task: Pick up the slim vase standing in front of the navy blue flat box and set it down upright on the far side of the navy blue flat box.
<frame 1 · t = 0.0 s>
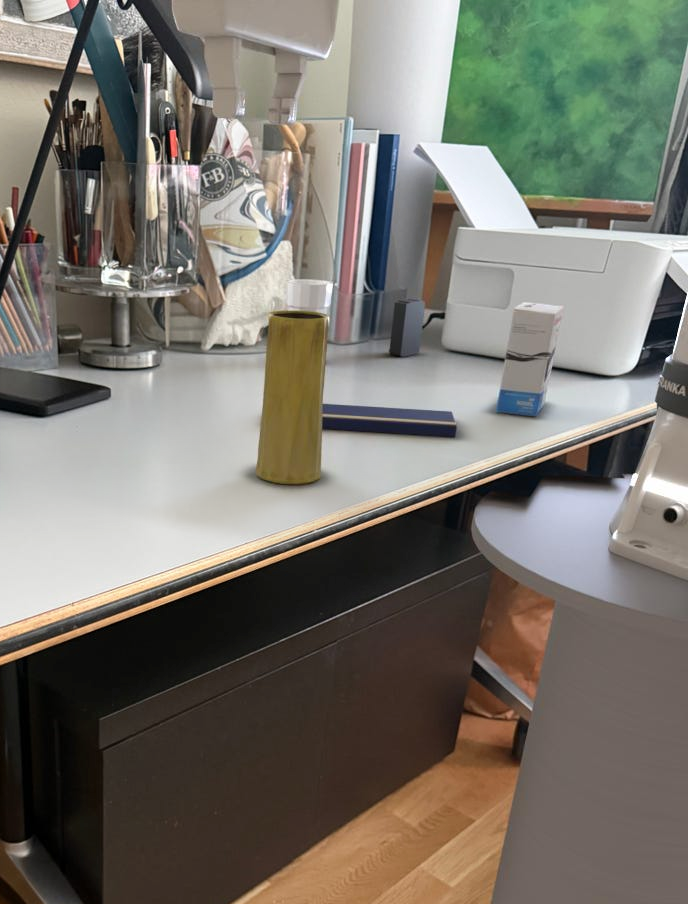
hand: (256, 121, 69), 28 cm above the table, tool pointing down, fingers open, 8 cm apart
vase: (287, 477, 87), on the table
navy blue flat box: (362, 423, 105), on the table
ink box: (520, 409, 114), on the table
ink cartridge: (403, 355, 145), on the table
cup: (303, 362, 138), on the table
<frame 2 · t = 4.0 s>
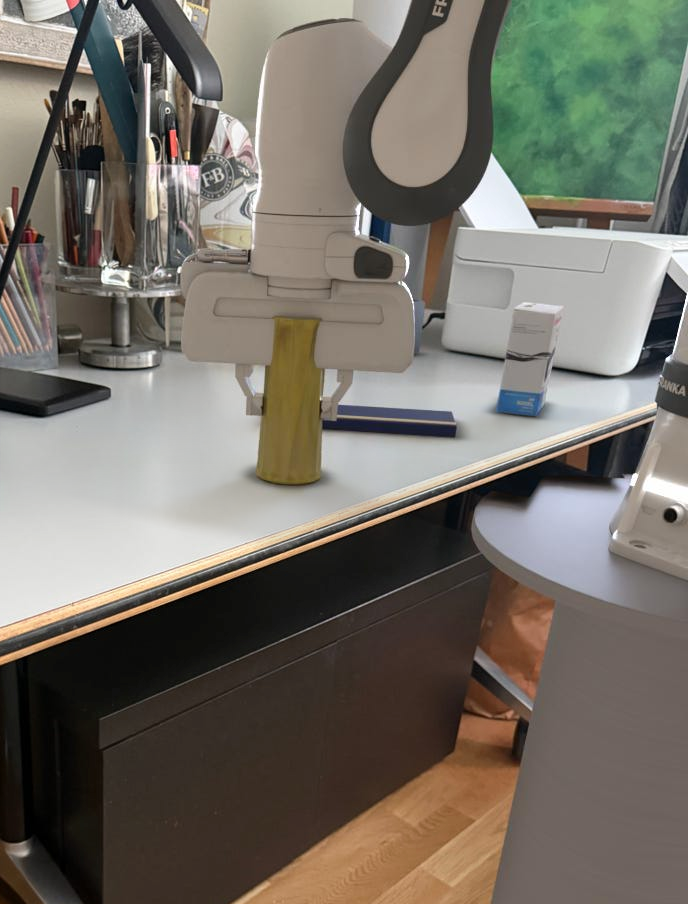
hand: (291, 416, 84), 5 cm above the table, tool pointing down, fingers closed on vase, 5 cm apart
vase: (287, 477, 87), on the table, touching gripper
everything else where it was.
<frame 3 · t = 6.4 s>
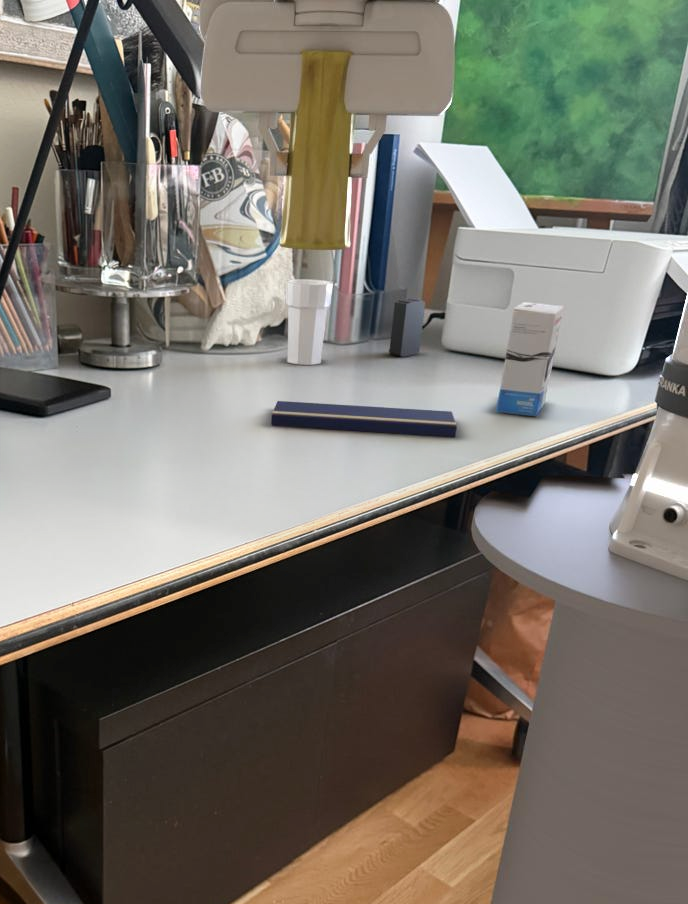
hand: (319, 177, 78), 25 cm above the table, tool pointing down, fingers closed on vase, 5 cm apart
vase: (313, 250, 81), point 19 cm above the table, touching gripper
everything else where it was.
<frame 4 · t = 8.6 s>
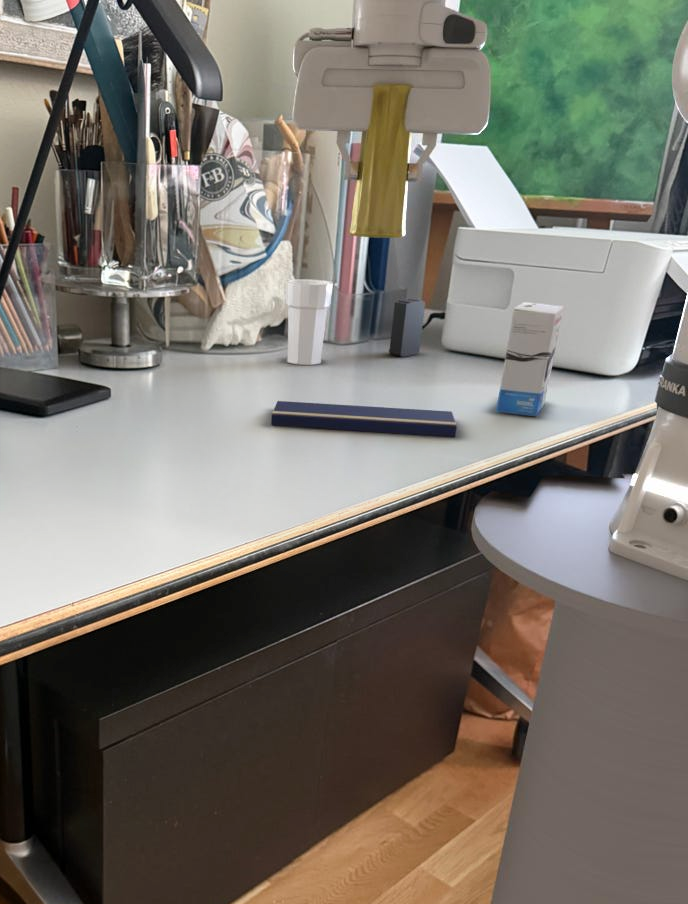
hand: (382, 181, 101), 24 cm above the table, tool pointing down, fingers closed on vase, 5 cm apart
vase: (376, 237, 103), point 19 cm above the table, touching gripper
everything else where it was.
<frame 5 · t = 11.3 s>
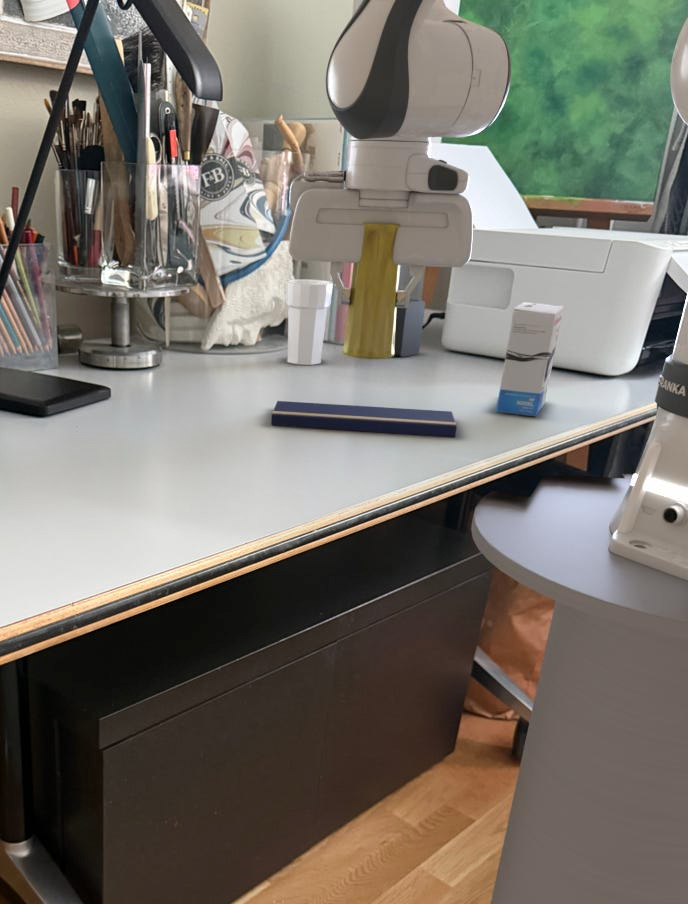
hand: (372, 306, 108), 11 cm above the table, tool pointing down, fingers closed on vase, 5 cm apart
vase: (367, 356, 110), point 6 cm above the table, touching gripper
everything else where it was.
when the fingers open (5 cm above the table, at t = 13.3 s): vase stays where it is, on the table.
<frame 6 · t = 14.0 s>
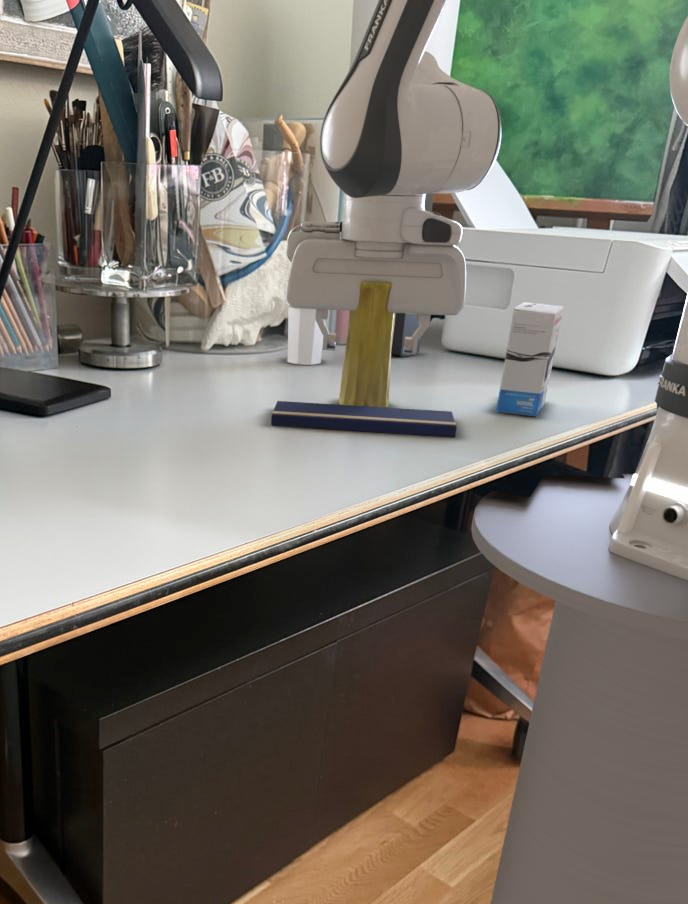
hand: (368, 351, 110), 6 cm above the table, tool pointing down, fingers open, 8 cm apart
vase: (362, 407, 113), on the table
everything else where it was.
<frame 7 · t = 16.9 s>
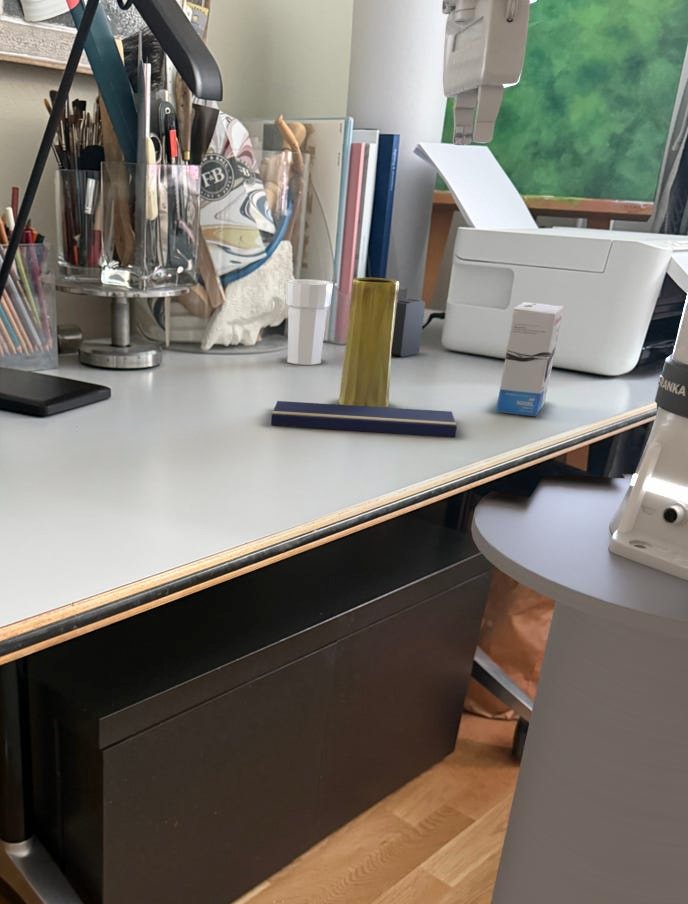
hand: (471, 144, 95), 28 cm above the table, tool pointing down, fingers open, 8 cm apart
nothing on the table moved.
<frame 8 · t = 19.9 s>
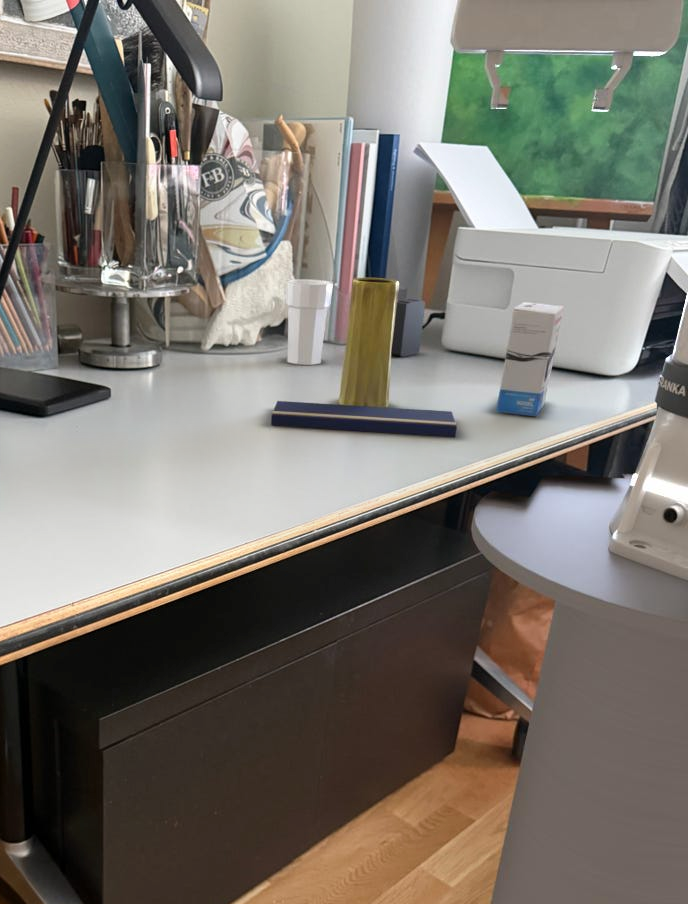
hand: (549, 109, 90), 31 cm above the table, tool pointing down, fingers open, 8 cm apart
nothing on the table moved.
at the end: vase inside the target area on the table beside the navy blue flat box (0.4 cm from its centre), on the table; vase tilted 0°; vase touching table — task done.
